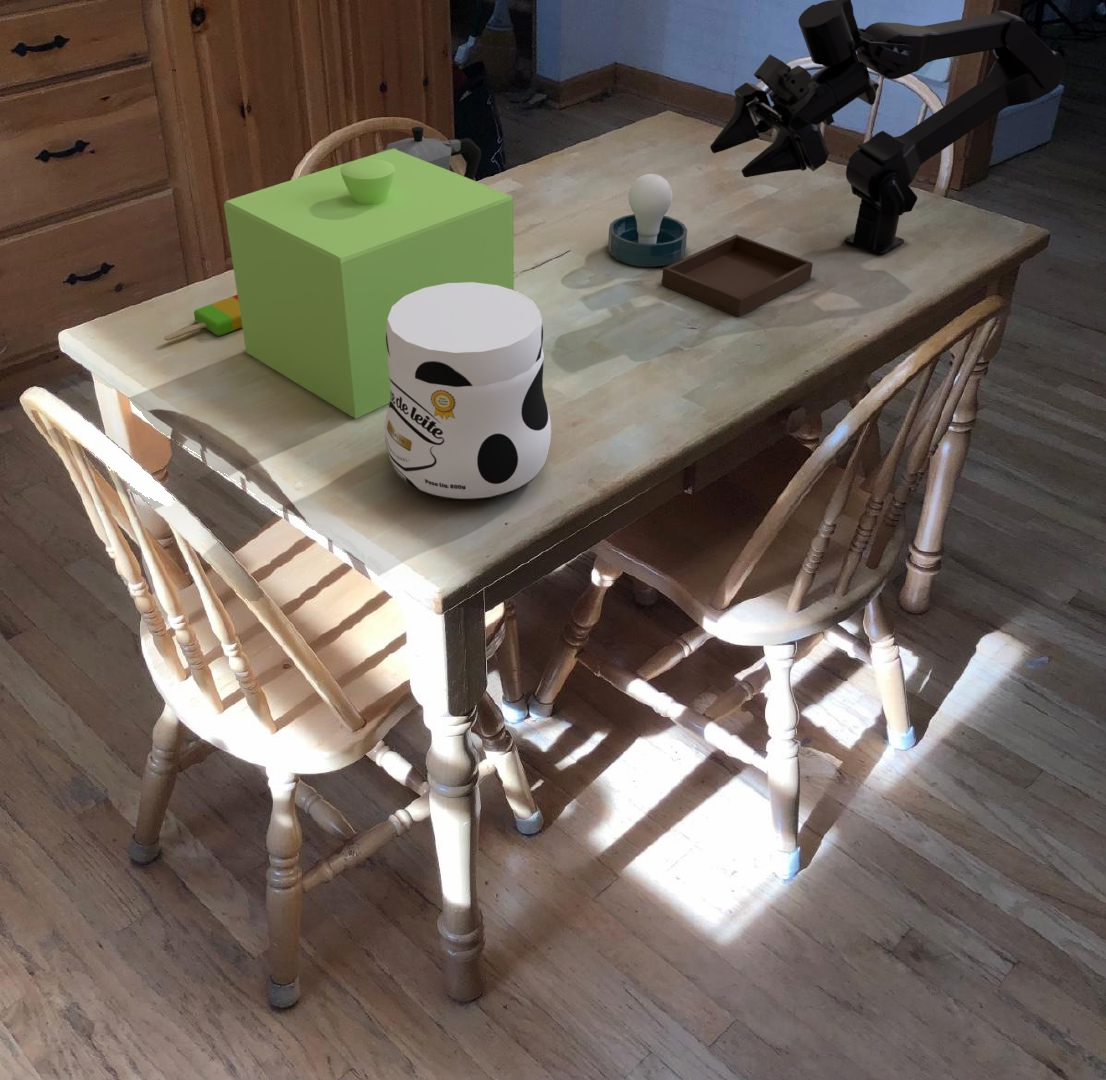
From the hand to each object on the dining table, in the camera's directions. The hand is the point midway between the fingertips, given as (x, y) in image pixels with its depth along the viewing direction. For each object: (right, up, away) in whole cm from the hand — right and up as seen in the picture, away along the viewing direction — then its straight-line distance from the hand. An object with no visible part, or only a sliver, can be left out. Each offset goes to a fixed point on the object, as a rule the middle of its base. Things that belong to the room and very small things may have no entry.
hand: (726, 161), depth 162 cm
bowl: (-10, -9, +13) cm, 18 cm away
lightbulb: (-10, -9, +13) cm, 18 cm away
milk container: (-32, -43, -32) cm, 62 cm away
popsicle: (-66, -23, -7) cm, 70 cm away
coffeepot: (-40, -10, +11) cm, 43 cm away
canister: (-44, -27, -11) cm, 53 cm away
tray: (+2, -15, +5) cm, 16 cm away
